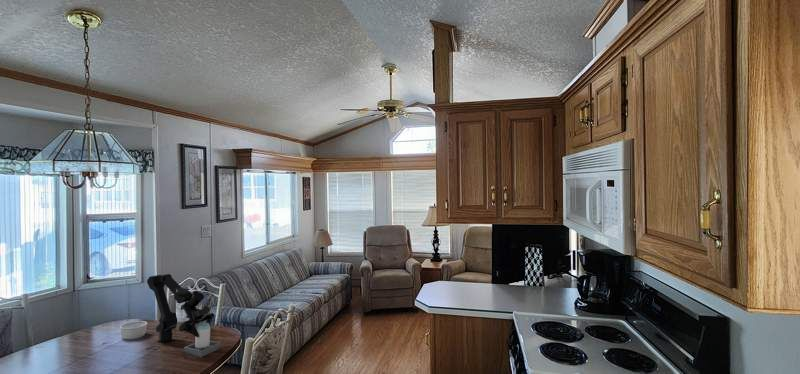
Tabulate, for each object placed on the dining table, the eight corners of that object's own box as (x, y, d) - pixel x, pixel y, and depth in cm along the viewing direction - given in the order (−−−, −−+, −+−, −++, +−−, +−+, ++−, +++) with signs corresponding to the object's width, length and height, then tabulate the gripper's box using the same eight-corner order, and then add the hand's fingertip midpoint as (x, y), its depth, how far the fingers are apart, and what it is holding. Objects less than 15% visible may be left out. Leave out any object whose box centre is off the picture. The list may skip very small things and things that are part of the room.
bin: (183, 352, 199) (183, 347, 199) (203, 344, 211) (203, 339, 211) (201, 357, 194) (201, 351, 195) (220, 348, 206) (220, 342, 206)
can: (212, 344, 206) (213, 322, 206) (204, 349, 199) (205, 327, 199) (200, 343, 206) (201, 321, 207) (192, 348, 199) (193, 326, 200)
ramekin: (151, 335, 222) (151, 323, 222) (125, 342, 211) (126, 330, 211) (140, 330, 229) (141, 319, 229) (115, 337, 218) (116, 325, 218)
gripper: (183, 306, 196) (197, 331, 192) (213, 298, 213) (226, 321, 209) (172, 319, 199) (185, 344, 195) (203, 310, 216) (216, 332, 212)
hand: (204, 334), depth 202 cm, fingers closed on can, 7 cm apart
